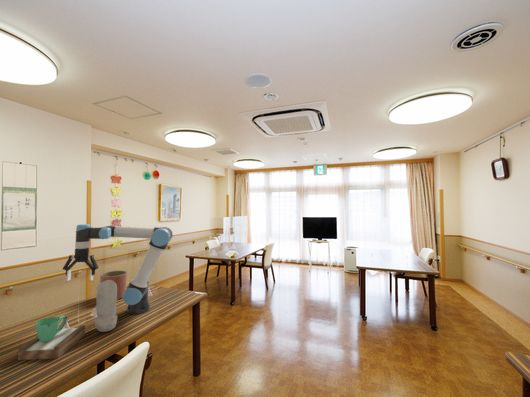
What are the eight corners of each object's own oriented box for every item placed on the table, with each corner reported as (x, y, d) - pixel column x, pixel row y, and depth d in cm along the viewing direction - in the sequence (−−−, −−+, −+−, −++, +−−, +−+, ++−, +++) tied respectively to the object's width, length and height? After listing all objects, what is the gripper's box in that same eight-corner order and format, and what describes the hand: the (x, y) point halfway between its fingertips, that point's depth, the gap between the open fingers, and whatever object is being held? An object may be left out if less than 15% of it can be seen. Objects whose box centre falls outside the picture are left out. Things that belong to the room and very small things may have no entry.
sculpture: (123, 326, 154) (126, 278, 155) (109, 335, 142) (112, 284, 144) (101, 324, 156) (104, 277, 157) (86, 333, 144) (89, 282, 145)
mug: (43, 346, 122) (45, 326, 123) (28, 343, 124) (30, 323, 125) (71, 332, 137) (73, 314, 137) (57, 330, 139) (59, 312, 139)
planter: (106, 293, 208) (108, 270, 209) (129, 293, 210) (131, 270, 211) (93, 302, 190) (95, 276, 190) (119, 302, 192) (120, 276, 192)
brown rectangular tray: (84, 334, 142) (85, 325, 143) (58, 357, 121) (59, 346, 121) (50, 336, 140) (51, 326, 140) (17, 360, 118) (18, 348, 118)
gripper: (105, 247, 166) (103, 278, 165) (65, 246, 162) (62, 278, 161) (99, 248, 158) (97, 281, 157) (57, 248, 154) (54, 282, 154)
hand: (80, 280), depth 159 cm, fingers open, 13 cm apart
